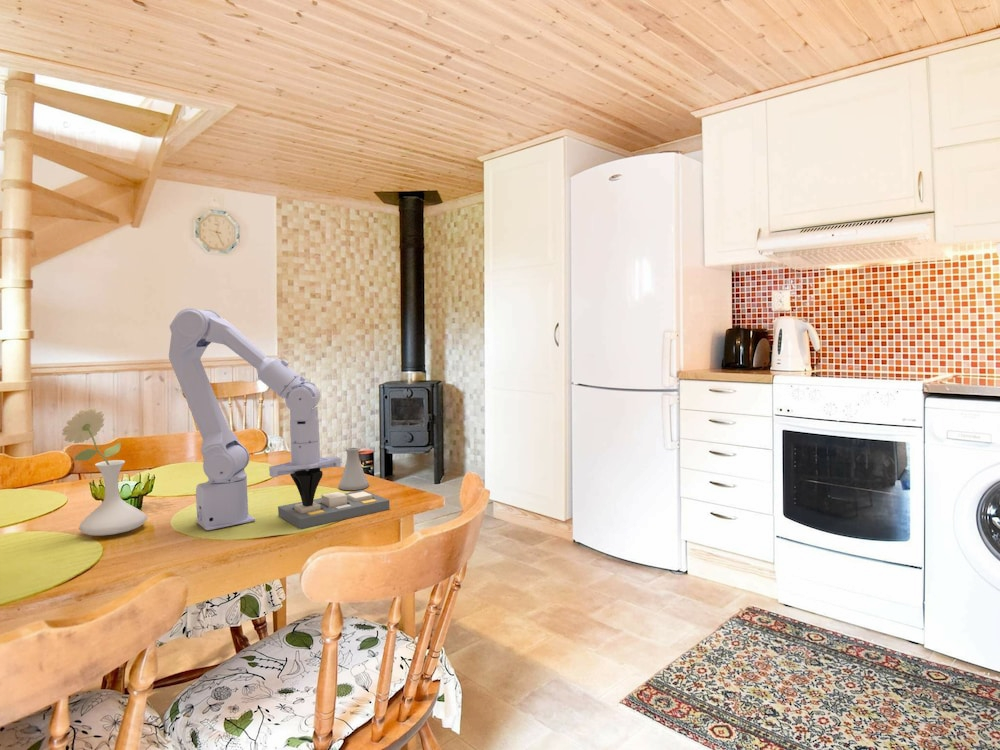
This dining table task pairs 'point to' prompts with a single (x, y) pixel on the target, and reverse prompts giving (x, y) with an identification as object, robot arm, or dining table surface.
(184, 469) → the dining table surface
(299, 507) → the button near
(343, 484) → the flask
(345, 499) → the button middle
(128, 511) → the flower in vase
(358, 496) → the button far
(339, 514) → the button board
